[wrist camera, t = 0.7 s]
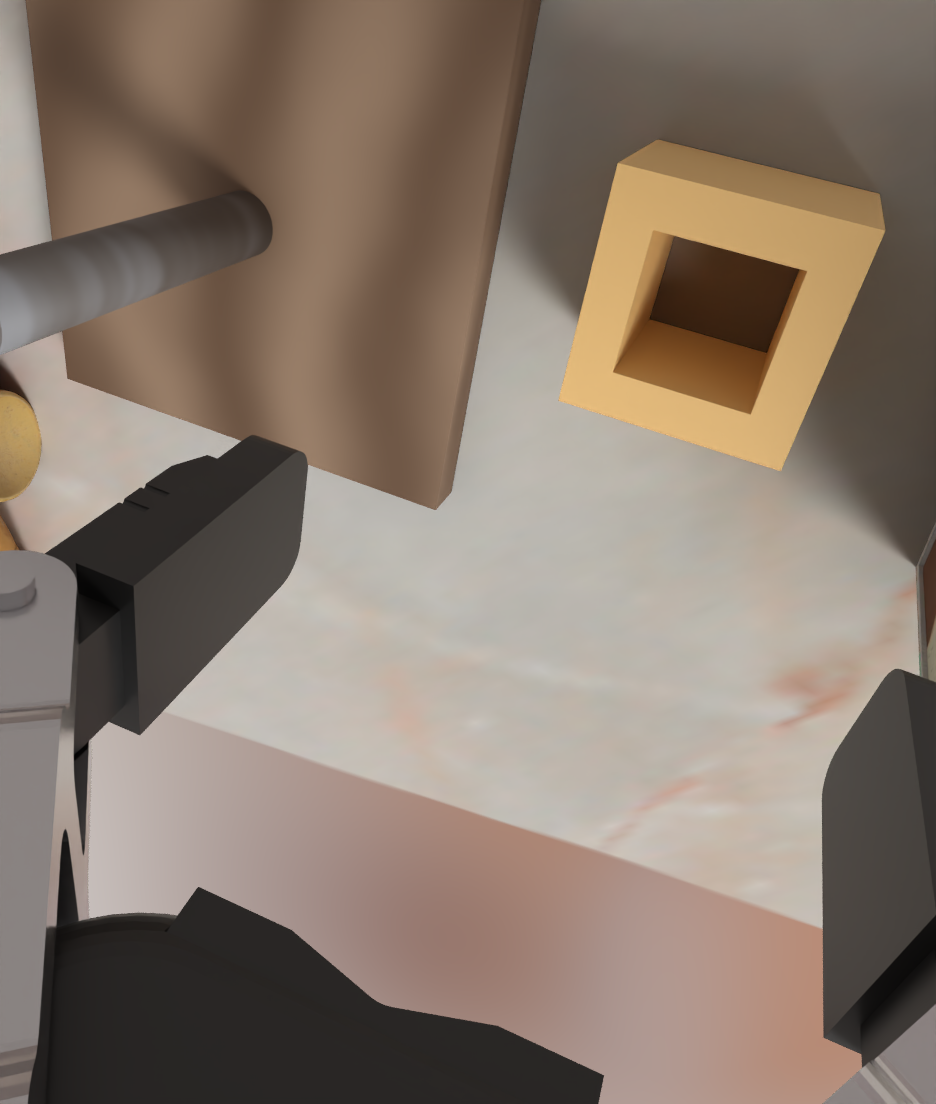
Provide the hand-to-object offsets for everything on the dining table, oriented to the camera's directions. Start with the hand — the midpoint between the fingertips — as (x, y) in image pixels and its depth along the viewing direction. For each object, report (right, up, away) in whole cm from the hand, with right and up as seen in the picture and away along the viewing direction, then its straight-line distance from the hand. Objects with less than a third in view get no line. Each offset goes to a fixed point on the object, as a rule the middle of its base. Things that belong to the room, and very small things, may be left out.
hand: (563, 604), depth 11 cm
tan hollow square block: (+6, +9, +13) cm, 17 cm away
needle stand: (-8, +12, +17) cm, 23 cm away
